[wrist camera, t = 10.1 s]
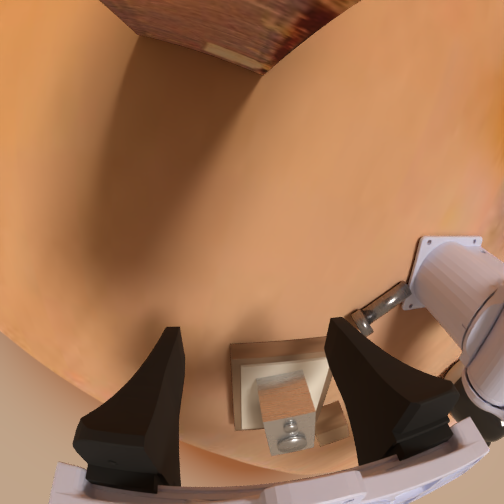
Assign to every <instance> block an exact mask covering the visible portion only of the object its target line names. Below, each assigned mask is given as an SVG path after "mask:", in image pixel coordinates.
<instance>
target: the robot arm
mask: <svg viewBox="0 0 504 504" xmlns="http://www.w3.org/2000/svg"><path fill="white" fill-rule="evenodd" d="M428 241H429V242H428ZM427 242H428V243H427ZM481 244H482V237H480V236H423V237H422V238H421V239H420V241H419V245H418V249H417V254H416V257H415V261H414V265H413V269H412V272H411V276H410V280H409V283H408V287H409V288H410V290H411V293H412V295H410V296H409V297H408V298H406V299H405V300H404V301H403V303H402V306H401V307H402V309H403V310H411V309H417V308H423V307H425V308H426V309H427V310H428V311H429V312H430V313H431V314H432V315H433V317H434V318H435V319H436V320H437V321H438V322H439V323H440V325H441V326H442V327H443V328H444V329H445V330H446V332H447V333H448V334H449V335H450V336H451V338H452V339H453V340H454V341H455V342H456V344H457V345H458V346H459V347H460V348H461V350H462V353H461V355H460V357H459V359H460V361H461V362H462V363H463V365H464V366H465V367H464V369H463V371H462V383H463V386H464V389H465V391H466V393H467V395H468V397H469V398H470V400H471V401H472V402H473V403H474V404H475V405H476V406H477V407H479V408H480V409H482V410H484V411H487V412H490V413H492V414H494V415H495V416H497V417H498V418H500V419H501V420H502V421H503V422H504V263H503V262H502V261H501V260H499V259H498V258H496V257H495V256H494V255H492V254H491V253H489V252H488V251H487V250H485V249H484V248H482V247H481ZM324 351H325V354H326V358H327V362H328V365H329V368H330V370H331V372H332V375H333V377H334V380H335V382H336V384H337V386H338V389H339V391H340V393H341V396H342V398H343V401H344V403H345V406H346V409H347V413H348V416H349V420H350V424H351V428H352V432H353V436H354V441H355V446H356V451H357V458H358V464H359V466H357V467H354V468H350V469H346V470H342V471H338V472H334V473H330V474H325V475H320V476H315V477H310V478H304V479H298V480H292V481H285V482H278V483H269V484H260V485H249V486H232V487H181V480H180V464H179V413H180V406H181V398H182V391H183V384H184V377H185V354H184V349H183V343H182V337H181V332H180V327H166V328H165V330H164V332H163V333H162V335H161V337H160V339H159V340H158V342H157V344H156V345H155V347H154V349H153V350H152V352H151V353H150V355H149V356H148V358H147V359H146V360H145V362H144V363H143V364H142V366H141V367H140V368H139V370H138V371H137V372H136V373H135V374H134V376H133V377H132V378H131V379H130V380H129V381H128V382H127V383H126V384H125V385H124V386H123V387H122V388H121V389H120V390H119V391H118V392H117V393H116V394H115V395H114V396H113V397H111V398H110V399H109V400H107V401H106V402H105V403H104V404H102V405H101V406H100V407H98V408H97V409H95V410H94V411H92V412H90V413H89V414H87V415H86V416H84V417H82V418H81V419H80V422H79V424H78V426H77V429H76V433H75V436H74V440H73V447H74V449H75V450H76V452H77V453H78V454H79V455H80V456H81V457H82V458H83V459H84V460H85V461H86V462H87V463H88V468H87V470H86V469H84V468H82V467H79V466H75V465H71V464H67V463H63V462H58V463H57V467H56V471H55V476H54V480H53V484H52V489H51V494H50V499H49V504H409V503H411V502H413V501H415V500H417V499H419V498H421V497H423V496H425V495H427V494H429V493H430V492H432V491H434V490H436V489H438V488H440V487H441V486H443V485H445V484H447V483H448V482H450V481H452V480H454V479H456V478H457V477H459V476H461V475H462V474H464V473H465V472H466V471H467V470H469V469H470V468H471V467H472V466H474V465H475V464H476V463H477V462H478V461H479V460H481V459H482V458H483V457H484V456H485V455H486V454H487V453H488V452H489V451H490V449H489V447H488V446H487V444H486V442H485V441H484V439H483V437H482V436H481V434H480V432H479V431H478V429H477V427H476V426H475V424H474V422H473V421H472V419H471V418H470V417H467V418H465V419H463V420H462V421H460V422H458V423H456V424H454V425H453V426H451V427H449V425H448V424H447V423H449V422H450V419H449V418H448V416H447V415H448V414H449V412H450V411H451V410H452V408H453V407H454V406H455V404H456V403H457V401H458V399H459V396H460V394H459V392H458V390H457V389H456V387H455V386H454V384H453V383H452V381H450V380H446V379H442V378H439V377H435V376H432V375H430V374H427V373H424V372H422V371H419V370H417V369H415V368H413V367H411V366H408V365H406V364H405V363H403V362H401V361H399V360H397V359H396V358H394V357H392V356H391V355H389V354H388V353H386V352H385V351H383V350H382V349H381V348H379V347H378V346H376V345H375V344H374V343H373V342H371V341H370V340H369V339H368V338H366V337H365V336H364V335H363V334H362V333H360V332H359V331H358V330H357V329H356V328H354V327H353V326H352V325H351V324H350V323H349V322H347V321H346V320H345V319H344V318H343V317H337V318H330V323H329V328H328V332H327V337H326V341H325V346H324Z"/></svg>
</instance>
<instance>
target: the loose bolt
mask: <svg viewBox="0 0 504 504" xmlns="http://www.w3.org/2000/svg"><path fill="white" fill-rule="evenodd" d="M410 295H412V293H411V290H410V288H409V287H408V285H407V284H406V283H405V282H404V281H402V282H401V283H399V284H398V285H397V286H395V287H394V288H392V289H391V290H390V291H388V292H387V293H385V294H384V295H383V296H381V297H380V298H378V299H377V300H375V301H374V302H373V303H371V304H370V305H368V306H367V307H365V308H364V309H362V310H360V309H359V310H357V311H356V312H354V313H353V314H351V316H352V318H353V320H354V321H355V323H356V325H357V326H358V328H359V330H360V331H361V333H362V334H363V335H364V336H365V337H367V336H369V335H370V334H372V333H373V330H372V328H371V326H370V324H371V323H372V322H374V321H375V320H377V319H378V318H380V317H381V316H383V315H384V314H386V313H387V312H388V311H390V310H391V309H393V308H394V307H395V306H397V305H398V304H400V303H401V302H402V301H404V300H405V299H406V298H408V297H409V296H410Z"/></svg>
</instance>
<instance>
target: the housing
mask: <svg viewBox="0 0 504 504" xmlns="http://www.w3.org/2000/svg"><path fill="white" fill-rule="evenodd" d="M256 383H257V389H258V395H259V401H260V407H261V413H262V419H263V424H264V429H265V433H266V437H267V441H268V445H269V449H270V453H271V456H274V455H280V454H285V453H290V452H295V451H300V450H304V449H309V448H313V447H314V437H315V417H316V411H315V408H314V404H313V401H312V398H311V395H310V392H309V389H308V385H307V382H306V379H305V376H304V373H303V370H298V371H293V372H288V373H283V374H278V375H273V376H268V377H262V378H256Z"/></svg>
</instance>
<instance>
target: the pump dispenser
mask: <svg viewBox="0 0 504 504" xmlns="http://www.w3.org/2000/svg"><path fill="white" fill-rule="evenodd" d="M464 367H465V366H464V365H463V363H462V362H461V361H458V362H457V363H456V364H455V365H454V366H453V367H452V368H451V369H450V370H449V371H448V373H447V374H446V376H445V378H444V379H446V380H450V381H452V383H453V384H454V386H455V387H456V389H457V390H458V392H459V394H460V396H459V399H458V401H457V403H456V404H455V406H454V407H453V408H452V410H451V411H450V412H449V414H450V415H451V416H452V417H453V418H454V419H455V420H456V421H457V422H460V421H462V420H463V419H465V418H467V417H470V418H471V419H472V421H473V422H474V424H475V426H476V427H477V429H478V431H479V432H480V434H481V436H482V437H483V439H484V441H485V442H486V444H487V446H488V447H489V445H490V444H491V442H494V441H497V440H499V439H501V438H502V437H504V422H503V421H502V420H501V419H500V418H498V417H497V416H495V415H494V414H492V413H490V412H487V411H484V410H482V409H480V408H479V407H477V406H476V405H475V404H474V403H473V402H472V401H471V400H470V398H469V397H468V395H467V393H466V391H465V389H464V386H463V383H462V371H463V369H464Z"/></svg>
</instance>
